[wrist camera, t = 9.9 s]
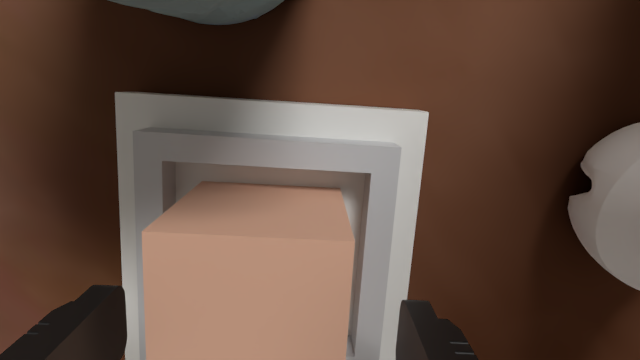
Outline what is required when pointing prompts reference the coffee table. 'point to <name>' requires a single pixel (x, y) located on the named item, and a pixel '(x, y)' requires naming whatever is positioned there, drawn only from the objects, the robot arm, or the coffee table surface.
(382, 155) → the grey stand
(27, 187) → the coffee table surface
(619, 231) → the water bottle
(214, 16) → the teal cup
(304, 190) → the terracotta block
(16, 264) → the coffee table surface
